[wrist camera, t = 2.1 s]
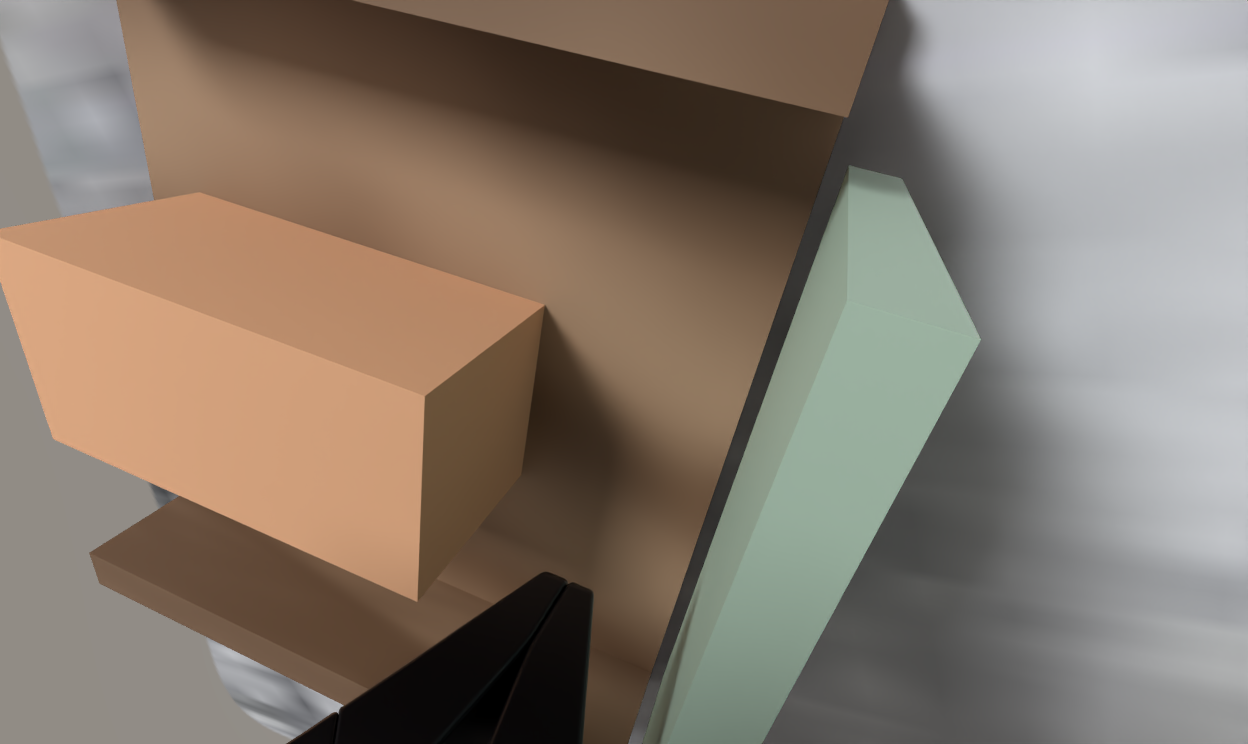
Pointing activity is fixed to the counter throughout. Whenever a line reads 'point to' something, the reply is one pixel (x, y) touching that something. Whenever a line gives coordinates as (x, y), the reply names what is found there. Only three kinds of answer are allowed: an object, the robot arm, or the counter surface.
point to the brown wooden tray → (509, 275)
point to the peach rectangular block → (279, 376)
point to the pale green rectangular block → (818, 464)
